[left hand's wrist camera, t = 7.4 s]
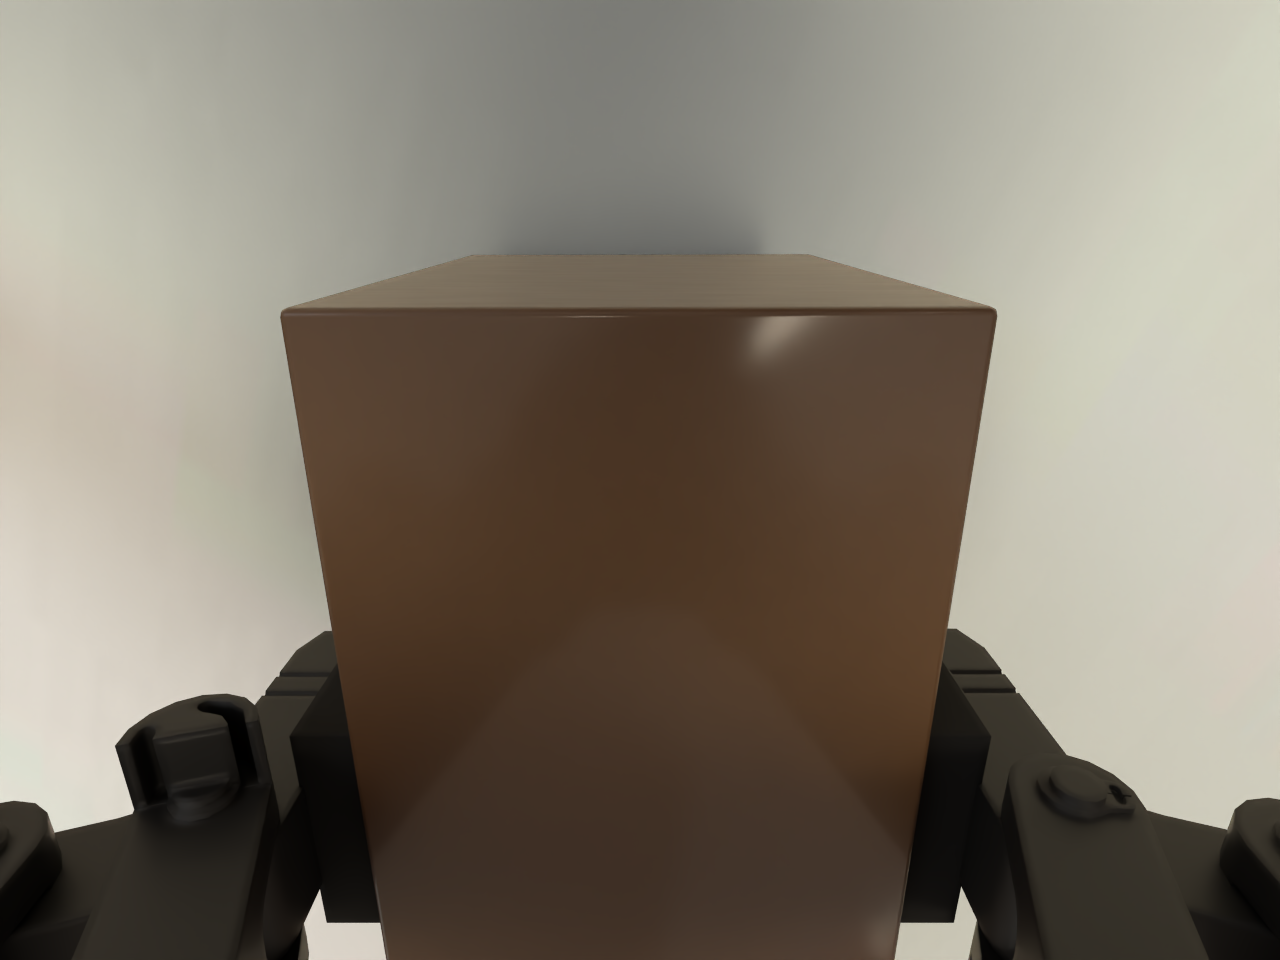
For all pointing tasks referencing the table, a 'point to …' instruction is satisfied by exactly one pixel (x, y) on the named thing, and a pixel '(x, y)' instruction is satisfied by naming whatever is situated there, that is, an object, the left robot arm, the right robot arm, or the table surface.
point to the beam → (639, 593)
